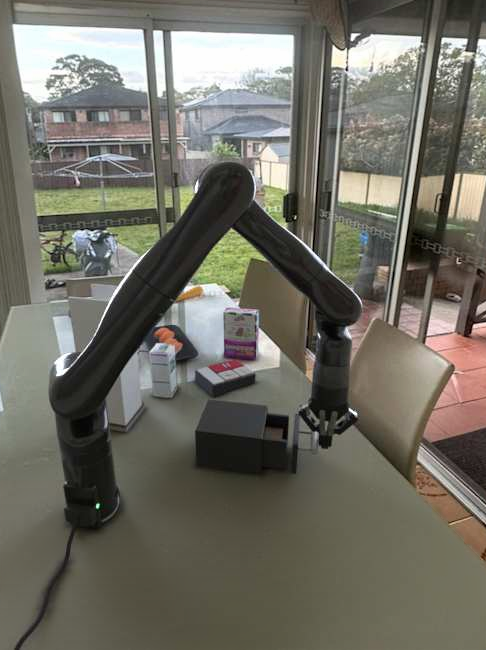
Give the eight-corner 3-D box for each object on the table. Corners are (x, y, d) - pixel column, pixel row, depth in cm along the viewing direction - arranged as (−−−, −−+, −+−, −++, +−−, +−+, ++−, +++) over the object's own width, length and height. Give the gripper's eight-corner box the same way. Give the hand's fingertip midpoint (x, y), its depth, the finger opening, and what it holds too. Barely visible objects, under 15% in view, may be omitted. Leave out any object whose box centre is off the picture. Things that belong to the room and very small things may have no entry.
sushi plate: (201, 360, 146) (200, 350, 145) (109, 377, 136) (108, 367, 134) (176, 328, 171) (176, 319, 170) (97, 340, 161) (96, 331, 160)
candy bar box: (258, 353, 150) (259, 309, 144) (256, 360, 146) (257, 314, 140) (226, 350, 153) (226, 306, 147) (223, 357, 148) (223, 311, 142)
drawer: (316, 443, 105) (319, 415, 102) (316, 477, 94) (319, 447, 91) (242, 434, 108) (243, 407, 105) (234, 466, 97) (234, 437, 95)
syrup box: (172, 398, 125) (169, 352, 119) (152, 396, 126) (148, 351, 121) (177, 388, 130) (175, 343, 125) (158, 386, 131) (155, 342, 126)
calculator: (256, 371, 131) (213, 383, 123) (255, 384, 133) (213, 397, 125) (236, 357, 140) (194, 367, 132) (235, 369, 141) (194, 380, 134)
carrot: (200, 294, 210) (197, 285, 210) (205, 293, 206) (202, 284, 206) (165, 308, 199) (162, 298, 198) (170, 307, 195) (167, 297, 195)
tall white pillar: (144, 408, 120) (133, 287, 107) (126, 432, 111) (112, 301, 98) (107, 402, 123) (92, 283, 110) (86, 425, 114) (67, 297, 101)
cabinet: (267, 438, 108) (268, 405, 104) (260, 475, 96) (261, 438, 93) (208, 432, 110) (208, 399, 107) (196, 466, 99) (194, 430, 95)
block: (260, 454, 99) (280, 457, 98) (261, 438, 98) (281, 440, 97) (262, 442, 103) (282, 444, 103) (263, 426, 102) (283, 428, 101)
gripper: (297, 384, 89) (293, 453, 95) (365, 390, 87) (356, 461, 93) (299, 366, 96) (295, 432, 102) (362, 372, 93) (354, 439, 100)
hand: (324, 446), depth 97 cm, fingers closed
